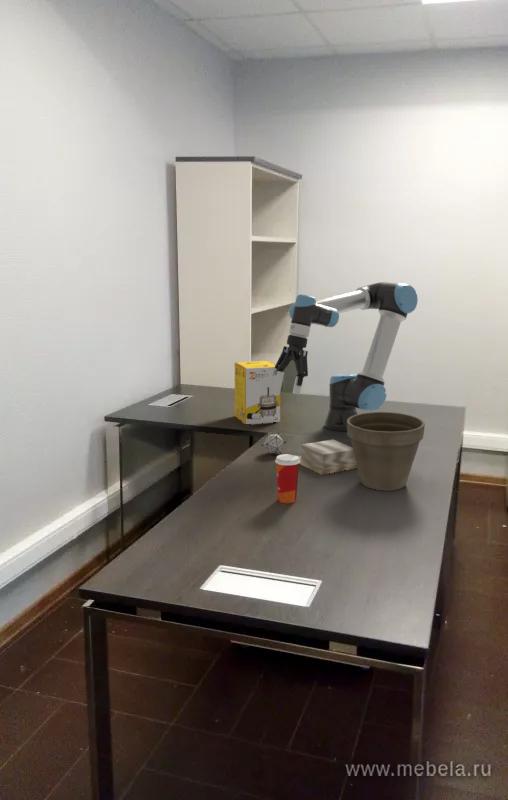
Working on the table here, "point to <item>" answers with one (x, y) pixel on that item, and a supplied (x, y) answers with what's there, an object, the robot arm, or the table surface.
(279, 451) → the wireframe icosahedron
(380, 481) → the plant pot
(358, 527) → the table surface
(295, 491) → the paper cup
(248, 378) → the packaging box
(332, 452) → the tower base
